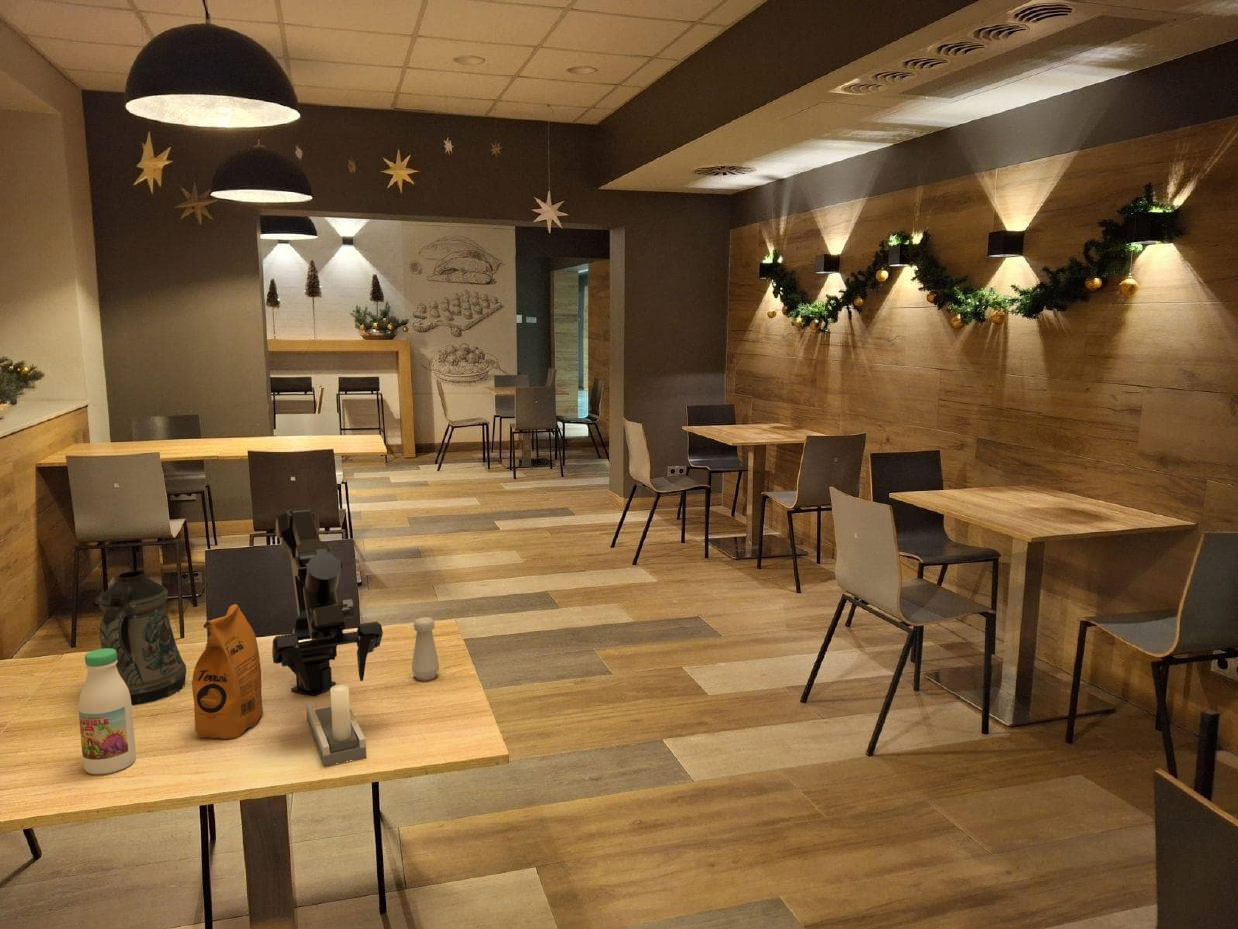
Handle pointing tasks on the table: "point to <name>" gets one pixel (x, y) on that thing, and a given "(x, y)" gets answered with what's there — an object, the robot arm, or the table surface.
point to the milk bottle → (105, 716)
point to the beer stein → (141, 637)
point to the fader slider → (341, 720)
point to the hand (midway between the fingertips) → (335, 685)
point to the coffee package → (227, 679)
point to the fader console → (323, 726)
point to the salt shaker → (424, 650)
